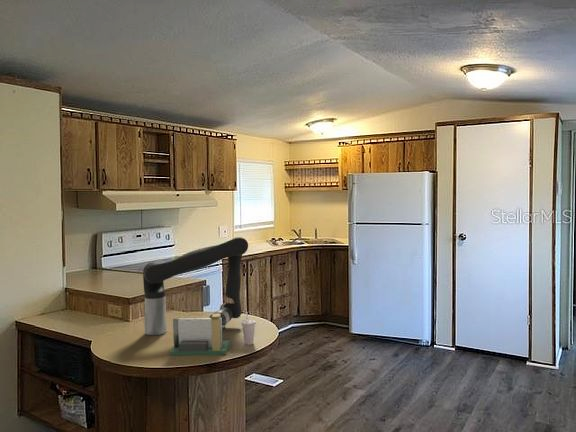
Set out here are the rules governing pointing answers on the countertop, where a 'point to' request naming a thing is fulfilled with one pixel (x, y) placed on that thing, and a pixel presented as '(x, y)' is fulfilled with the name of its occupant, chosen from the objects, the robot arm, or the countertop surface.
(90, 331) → the countertop surface
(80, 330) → the countertop surface
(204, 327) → the white upright panel
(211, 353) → the bracket
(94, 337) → the countertop surface
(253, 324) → the smoothie
